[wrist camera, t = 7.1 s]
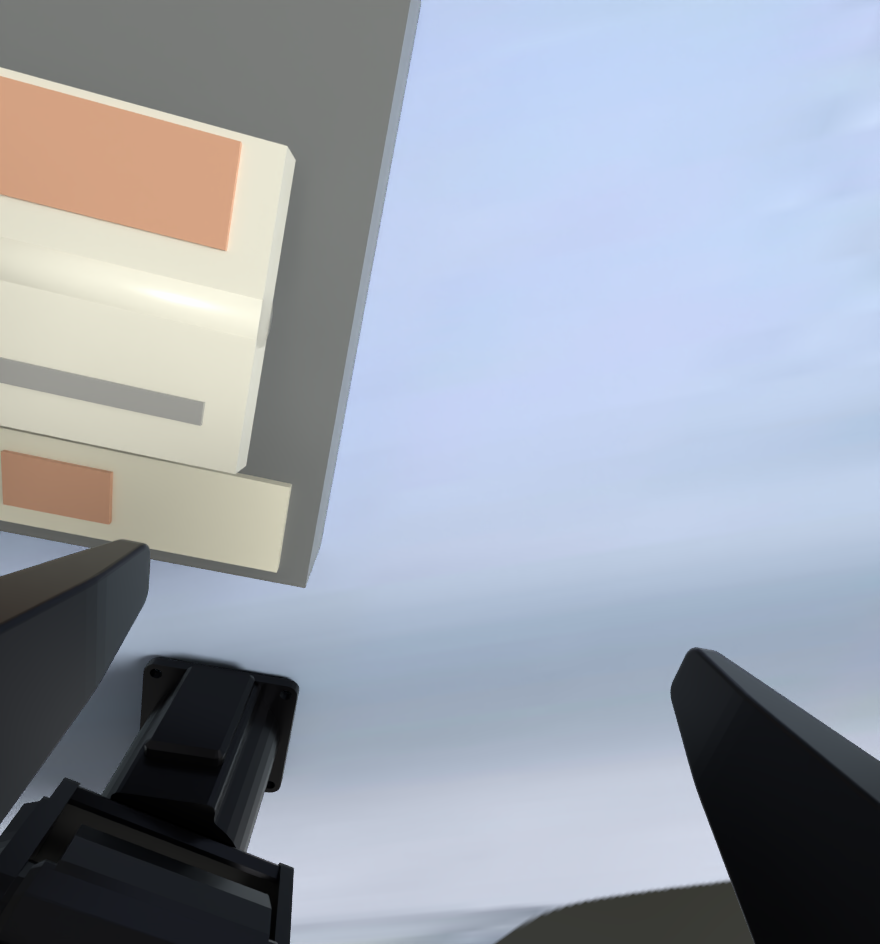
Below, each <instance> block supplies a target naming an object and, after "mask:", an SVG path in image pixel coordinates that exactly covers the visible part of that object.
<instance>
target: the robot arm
mask: <svg viewBox="0 0 880 944" xmlns="http://www.w3.org/2000/svg"><path fill="white" fill-rule="evenodd" d="M149 573H150V548H149V546H148V545H147V544H145V543H141V542H136V541H131V540H125V539H119V540H115V541H112V542H109V543H106V544H103V545H99V546H96V547H93V548H90V549H87V550H84V551H80V552H77V553H74V554H71V555H68V556H64V557H61V558H58V559H55V560H52V561H48V562H45V563H42V564H39V565H36V566H32V567H29V568H26V569H23V570H20V571H17V572H13V573H10V574H7V575H4V576H1V577H0V824H1V822H2V821H3V819H4V818H5V817H6V815H7V814H8V812H9V811H10V810H11V808H12V807H13V805H14V804H15V803H16V801H17V800H18V798H19V797H20V796H21V794H22V793H23V791H24V790H25V789H26V787H27V786H28V784H29V783H30V782H31V780H32V779H33V778H34V776H35V775H36V773H37V772H38V771H39V769H40V768H41V766H42V765H43V764H44V762H45V761H46V759H47V758H48V757H49V755H50V754H51V752H52V751H53V750H54V748H55V747H56V745H57V744H58V743H59V741H60V740H61V738H62V737H63V736H64V734H65V733H66V731H67V730H68V729H69V727H70V726H71V724H72V723H73V722H74V720H75V719H76V717H77V716H78V715H79V713H80V712H81V710H82V709H83V708H84V706H85V705H86V703H87V702H88V700H89V699H90V697H91V696H92V695H93V693H94V692H95V690H96V688H97V687H98V685H99V683H100V682H101V680H102V678H103V677H104V675H105V673H106V671H107V670H108V668H109V666H110V664H111V662H112V661H113V659H114V657H115V655H116V653H117V652H118V650H119V648H120V646H121V645H122V643H123V641H124V639H125V637H126V636H127V634H128V632H129V630H130V628H131V627H132V625H133V623H134V621H135V620H136V618H137V616H138V614H139V612H140V611H141V609H142V607H143V605H144V603H145V601H146V598H147V595H148V589H149ZM156 669H158V670H160V671H161V672H159V671H157V670H156ZM284 691H289V692H290V693H286V692H284ZM670 693H671V701H672V704H673V708H674V711H675V715H676V719H677V722H678V726H679V730H680V733H681V737H682V741H683V744H684V748H685V752H686V755H687V759H688V763H689V766H690V770H691V773H692V777H693V780H694V783H695V786H696V789H697V792H698V795H699V798H700V801H701V803H702V806H703V809H704V811H705V814H706V817H707V819H708V822H709V825H710V827H711V830H712V833H713V835H714V838H715V840H716V843H717V846H718V848H719V851H720V854H721V856H722V859H723V862H724V864H725V867H726V870H727V872H728V875H729V878H730V880H731V883H732V886H733V888H734V891H735V894H736V896H737V899H738V901H739V904H740V907H741V909H742V912H743V915H744V917H745V920H746V923H747V925H748V928H749V930H750V933H751V936H752V938H753V941H754V944H880V761H879V760H877V759H876V758H874V757H873V756H871V755H870V754H868V753H867V752H865V751H864V750H862V749H861V748H859V747H858V746H856V745H855V744H853V743H852V742H850V741H849V740H847V739H846V738H845V737H843V736H842V735H840V734H839V733H837V732H836V731H834V730H833V729H831V728H830V727H828V726H827V725H825V724H824V723H822V722H821V721H819V720H818V719H816V718H815V717H813V716H812V715H810V714H809V713H808V712H806V711H805V710H803V709H802V708H800V707H799V706H797V705H796V704H794V703H793V702H791V701H790V700H788V699H787V698H785V697H784V696H782V695H781V694H779V693H778V692H776V691H775V690H774V689H772V688H771V687H769V686H768V685H766V684H765V683H763V682H762V681H760V680H759V679H757V678H756V677H754V676H753V675H751V674H750V673H748V672H747V671H745V670H744V669H742V668H741V667H740V666H738V665H737V664H735V663H734V662H732V661H731V660H729V659H728V658H726V657H725V656H723V655H722V654H720V653H719V652H717V651H714V650H709V649H703V648H697V647H695V648H692V649H690V650H689V651H688V652H687V654H686V655H685V658H684V660H683V662H682V664H681V666H680V668H679V670H678V672H677V674H676V676H675V678H674V680H673V682H672V685H671V692H670ZM298 694H299V686H298V684H297V683H296V682H294V681H292V680H288V679H282V678H277V677H271V676H265V675H259V674H253V673H247V672H241V671H235V670H229V669H223V668H217V667H212V666H206V665H200V664H194V663H188V662H182V661H176V660H170V659H164V658H154V659H152V660H151V661H150V662H149V663H148V664H147V666H146V667H145V669H144V674H143V691H142V707H141V723H140V732H139V733H138V735H137V737H136V738H135V740H134V742H133V743H132V745H131V747H130V748H129V750H128V752H127V753H126V755H125V757H124V758H123V760H122V761H121V763H120V765H119V766H118V768H117V770H116V771H115V773H114V775H113V776H112V778H111V780H110V781H109V783H108V785H107V786H106V788H105V790H104V791H103V793H102V795H100V794H97V793H95V792H92V791H90V790H87V789H85V788H82V787H79V785H80V783H78V782H76V781H73V780H71V779H68V778H66V777H65V778H64V779H63V781H62V782H61V783H60V785H59V786H58V787H57V789H56V790H55V791H54V793H53V794H52V795H51V797H50V798H48V797H45V796H44V797H43V798H42V799H41V800H40V801H38V802H32V803H26V804H24V805H23V806H22V807H21V809H20V810H19V811H18V813H17V814H16V815H15V817H14V818H13V820H12V821H11V822H10V824H9V825H8V826H7V828H6V829H5V830H4V832H3V833H2V834H1V836H0V944H290V930H291V912H292V894H293V875H294V868H293V867H290V866H288V865H285V864H282V863H279V864H278V865H277V864H274V863H272V862H269V861H267V860H264V859H262V858H259V857H257V856H254V855H252V854H249V853H247V848H248V845H249V842H250V838H251V835H252V832H253V828H254V825H255V822H256V819H257V815H258V812H259V809H260V805H261V802H262V799H263V795H264V792H276V791H277V790H279V788H280V786H281V782H282V778H283V773H284V767H285V762H286V757H287V752H288V746H289V741H290V736H291V731H292V725H293V720H294V715H295V710H296V704H297V699H298Z"/></svg>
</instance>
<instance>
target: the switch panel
mask: <svg viewBox="0 0 880 944" xmlns="http://www.w3.org/2000/svg"><path fill="white" fill-rule="evenodd" d="M420 7H421V0H0V67H1V68H5V69H9V70H12V71H16V72H20V73H23V74H27V75H30V76H34V77H38V78H41V79H45V80H49V81H52V82H56V83H60V84H63V85H67V86H71V87H74V88H78V89H81V90H85V91H89V92H92V93H96V94H100V95H103V96H107V97H111V98H114V99H118V100H122V101H125V102H129V103H132V104H136V105H140V106H143V107H147V108H151V109H154V110H158V111H162V112H165V113H169V114H173V115H176V116H180V117H183V118H187V119H191V120H194V121H198V122H202V123H205V124H209V125H213V126H216V127H220V128H224V129H227V130H231V131H234V132H238V133H242V134H245V135H249V136H253V137H256V138H260V139H264V140H267V141H271V142H275V143H278V144H282V145H285V146H288V148H289V150H290V151H291V153H292V155H293V156H294V158H295V160H296V162H295V168H294V174H293V180H292V186H291V192H290V198H289V205H288V211H287V217H286V223H285V229H284V235H283V242H282V248H281V254H280V260H279V266H278V272H277V279H276V285H275V291H274V297H273V311H272V321H271V326H270V331H269V334H268V338H267V340H266V346H265V352H264V359H263V365H262V371H261V377H260V383H259V389H258V396H257V402H256V408H255V414H254V420H253V426H252V432H251V439H250V445H249V451H248V457H247V463H246V466H245V467H244V468H243V469H241V470H240V471H239V472H237V473H236V474H232V473H227V472H222V471H218V470H213V469H208V468H203V467H198V466H193V465H189V464H184V463H179V462H174V461H169V460H165V459H160V458H155V457H150V456H145V455H140V454H136V453H131V452H126V451H121V450H116V449H112V448H107V447H102V446H97V445H92V444H87V443H83V442H78V441H73V440H68V439H63V438H59V437H54V436H49V435H44V434H39V433H34V432H30V431H25V430H20V429H15V428H10V427H6V426H1V425H0V531H4V532H10V533H15V534H20V535H26V536H31V537H36V538H42V539H47V540H52V541H57V542H63V543H68V544H73V545H79V546H84V547H89V548H93V547H96V546H99V545H103V544H106V543H109V542H112V541H115V540H119V539H125V540H131V541H136V542H141V543H145V544H147V545H148V546H149V548H150V559H153V560H159V561H164V562H169V563H175V564H180V565H185V566H191V567H196V568H201V569H207V570H212V571H217V572H223V573H228V574H233V575H238V576H244V577H249V578H254V579H260V580H265V581H270V582H276V583H281V584H286V585H292V586H297V587H302V588H305V587H306V584H307V582H308V579H309V576H310V573H311V571H312V568H313V565H314V562H315V560H316V557H317V554H318V551H319V549H320V546H321V540H322V535H323V530H324V524H325V519H326V514H327V508H328V503H329V497H330V492H331V487H332V481H333V476H334V470H335V465H336V460H337V454H338V449H339V443H340V438H341V433H342V427H343V422H344V416H345V411H346V406H347V400H348V395H349V389H350V384H351V379H352V373H353V368H354V363H355V357H356V352H357V346H358V341H359V336H360V330H361V325H362V319H363V314H364V309H365V303H366V298H367V292H368V287H369V282H370V276H371V271H372V265H373V260H374V255H375V249H376V244H377V238H378V233H379V228H380V222H381V217H382V211H383V206H384V201H385V195H386V190H387V185H388V179H389V174H390V168H391V163H392V158H393V152H394V147H395V141H396V136H397V131H398V125H399V120H400V114H401V109H402V104H403V98H404V93H405V87H406V82H407V77H408V71H409V66H410V60H411V55H412V50H413V44H414V39H415V33H416V28H417V23H418V17H419V12H420Z"/></svg>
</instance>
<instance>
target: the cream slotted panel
mask: <svg viewBox="0 0 880 944" xmlns="http://www.w3.org/2000/svg"><path fill="white" fill-rule="evenodd" d="M295 162H296V160H295V158H294V156H293V155H292V153H291V151H290V150H289V148H288V146H285V145H282V144H278V143H275V142H271V141H267V140H264V139H260V138H256V137H253V136H249V135H245V134H242V133H238V132H234V131H231V130H227V129H224V128H220V127H216V126H213V125H209V124H205V123H202V122H198V121H194V120H191V119H187V118H183V117H180V116H176V115H173V114H169V113H165V112H162V111H158V110H154V109H151V108H147V107H143V106H140V105H136V104H132V103H129V102H125V101H122V100H118V99H114V98H111V97H107V96H103V95H100V94H96V93H92V92H89V91H85V90H81V89H78V88H74V87H71V86H67V85H63V84H60V83H56V82H52V81H49V80H45V79H41V78H38V77H34V76H30V75H27V74H23V73H20V72H16V71H12V70H9V69H5V68H1V67H0V425H1V426H6V427H10V428H15V429H20V430H25V431H30V432H34V433H39V434H44V435H49V436H54V437H59V438H63V439H68V440H73V441H78V442H83V443H87V444H92V445H97V446H102V447H107V448H112V449H116V450H121V451H126V452H131V453H136V454H140V455H145V456H150V457H155V458H160V459H165V460H169V461H174V462H179V463H184V464H189V465H193V466H198V467H203V468H208V469H213V470H218V471H222V472H227V473H232V474H236V473H237V472H239V471H240V470H241V469H243V468H244V467H245V466H246V463H247V457H248V451H249V445H250V439H251V432H252V426H253V420H254V414H255V408H256V402H257V396H258V389H259V383H260V377H261V371H262V365H263V359H264V352H265V346H266V340H267V338H268V334H269V331H270V326H271V321H272V311H273V297H274V291H275V285H276V279H277V272H278V266H279V260H280V254H281V248H282V242H283V235H284V229H285V223H286V217H287V211H288V205H289V198H290V192H291V186H292V180H293V174H294V168H295Z"/></svg>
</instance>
